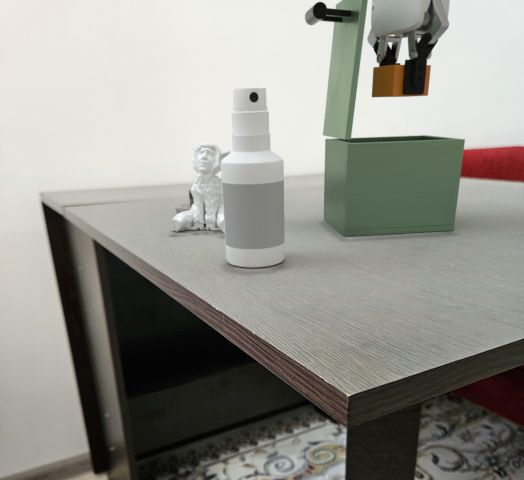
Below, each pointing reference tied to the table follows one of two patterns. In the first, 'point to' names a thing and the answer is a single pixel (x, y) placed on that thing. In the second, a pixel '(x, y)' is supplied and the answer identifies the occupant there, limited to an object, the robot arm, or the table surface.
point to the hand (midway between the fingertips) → (400, 93)
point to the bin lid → (342, 62)
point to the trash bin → (392, 184)
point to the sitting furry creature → (204, 192)
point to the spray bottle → (252, 186)
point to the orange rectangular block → (393, 81)
